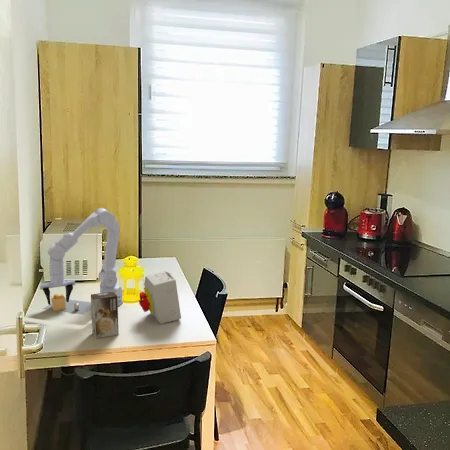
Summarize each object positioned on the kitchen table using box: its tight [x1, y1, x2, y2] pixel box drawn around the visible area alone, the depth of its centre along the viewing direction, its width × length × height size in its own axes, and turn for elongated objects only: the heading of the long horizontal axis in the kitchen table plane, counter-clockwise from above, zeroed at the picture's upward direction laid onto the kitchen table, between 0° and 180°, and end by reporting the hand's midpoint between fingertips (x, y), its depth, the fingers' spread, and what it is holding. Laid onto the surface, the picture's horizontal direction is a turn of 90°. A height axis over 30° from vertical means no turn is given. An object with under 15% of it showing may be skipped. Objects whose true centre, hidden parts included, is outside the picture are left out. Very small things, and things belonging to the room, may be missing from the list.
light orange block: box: [50, 293, 66, 312], centre depth 216 cm, size 5×5×6 cm
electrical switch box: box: [138, 270, 182, 325], centre depth 210 cm, size 15×15×20 cm
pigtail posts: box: [74, 303, 79, 311], centre depth 215 cm, size 11×2×3 cm, turn 74°
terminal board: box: [42, 298, 91, 315], centre depth 219 cm, size 20×14×2 cm
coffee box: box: [90, 292, 120, 339], centre depth 193 cm, size 9×6×16 cm
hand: (58, 302), depth 216 cm, fingers open, 7 cm apart
